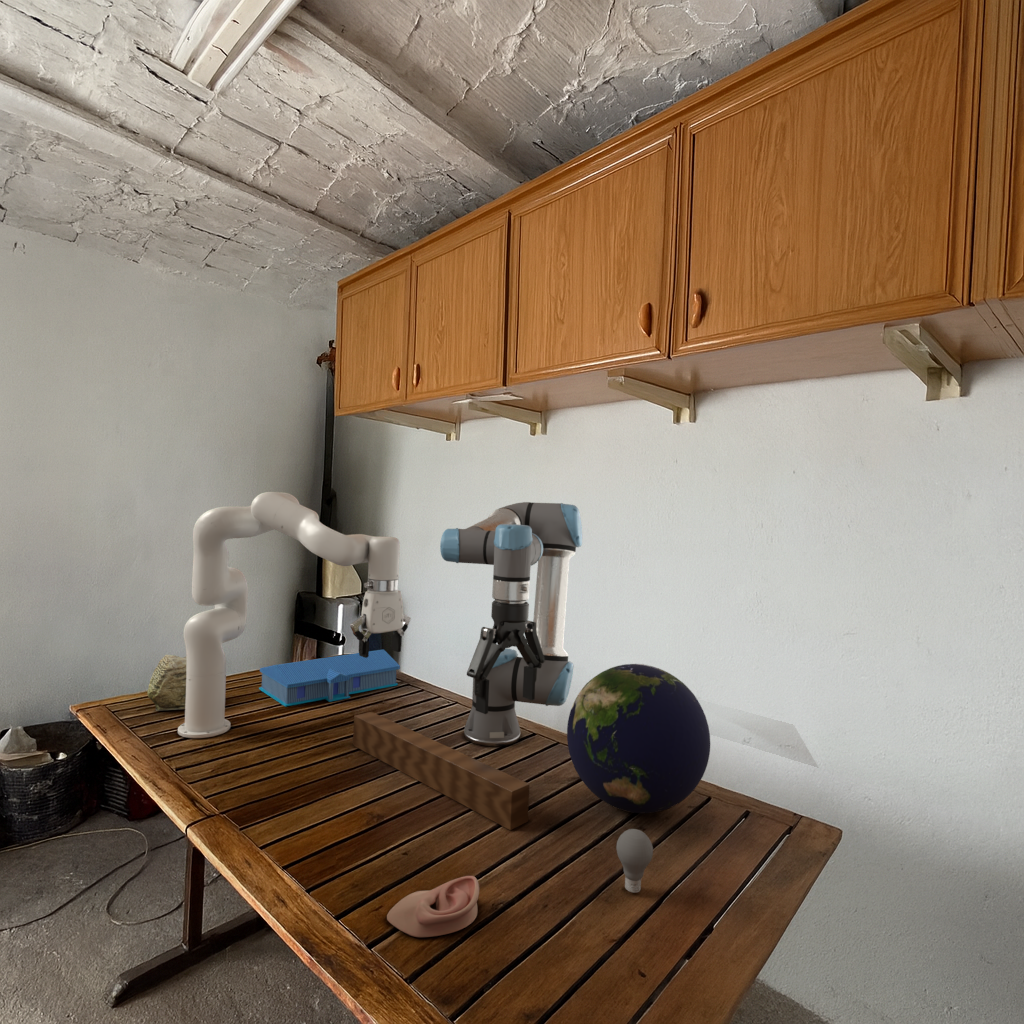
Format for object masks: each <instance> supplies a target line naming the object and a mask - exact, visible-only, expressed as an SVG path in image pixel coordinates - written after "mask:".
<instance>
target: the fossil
mask: <svg viewBox="0 0 1024 1024" xmlns="http://www.w3.org/2000/svg"><path fill="white" fill-rule="evenodd" d="M186 665H187V658H186V656H183V657H182V656H178V655H175V654H174V655H173V654H165V655H164V656H163V657H162V658H161V659H160V660H159V662H158V663H157V666H156V667H155V669H154V670H153V672H152V675H151V677H150V680H149V684H148V688H147V697H148V699H149V700H150V701H152V703H153V704H154V706H155V711H158V712H159V711H162V712H163V711H177V710H185V701H186Z"/></svg>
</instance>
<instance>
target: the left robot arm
mask: <svg viewBox="0 0 1024 1024" xmlns="http://www.w3.org/2000/svg"><path fill="white" fill-rule="evenodd" d="M273 530H275V531H278V532H279V533H281V534H284V535H286V536H288V537H290V538H292V539H294V540H296V541H298V542H299V543H301V545H302V546H303V547H305V549H307V550H308V551H309V552H311V553H312V554H314V555H316V556H318V557H320V558H322V559H324V560H326V561H328V562H330V563H332V564H335V565H338V566H342V567H350V566H354V565H359V564H366V563H368V565H367V566H368V567H367V568H368V569H367V582H364V583H363V587H364V588H365V589H367V591H365V593H364V596H363V600H362V605H361V613H360V617H359V618H357V619H355V620H354V621H352V622H351V623H350V624H349V626H350V629H351V631H352V634H353V636H355V638H356V640H358V653H359V655H360V656H362V657H365V658H367V657H368V656H369V651H370V641H369V639H370V636H371V635H372V634H384V633H390V632H393V634H392V635H391V650H392V651H393V652H397V653H401V652H402V644H403V643H402V640H403V636H404V635H405V632H406V631H407V629H408V627H409V625H410V622H411V620H412V619H411V616H408V615H407V614H405V613H404V603H403V596H402V590H399V578H400V577H399V574H400V553H401V552H400V551H401V549H400V548H401V542H400V539H399V538H397V537H395V536H383V535H381V536H379V535H378V536H373V535H369V534H364V533H356V534H355V533H354V534H353V533H352V534H345V533H341V532H339V531H337V530H335V529H332V528H330V527H329V526H326V525H325V524H323V523H322V522H321V521H320V517H319V514H318V513H317V512H316V511H315V510H312V509H311V508H309V507H306V506H304V505H303V504H300V502H299V500H298V499H297V497H296V496H294V495H293V494H291V493H289V492H284V491H283V492H281V491H265V492H262V493H260V494H258V495H256V496H255V497H254V498H253V500H252V502H251V504H250V505H247V506H246V505H245V506H242V505H241V506H240V505H239V506H235V505H230V506H229V505H225V506H219V507H214V508H211V509H209V510H207V511H205V512H203V513H202V514H201V515H199V517H198V518H197V520H196V522H194V526H193V530H192V544H193V545H192V546H193V556H192V557H193V559H192V575H191V578H192V579H191V597H192V600H193V601H194V602H195V603H196V604H197V605H199V606H202V607H213V606H214V608H212V609H207V610H204V611H200V612H198V613H196V614H194V615H192V616H191V617H190V618H188V620H187V621H186V623H185V624H184V627H183V640H184V641H183V642H184V646H185V657H186V658H187V665H186V701H185V709H184V722H182V724H180V725H179V726H178V727H177V734H178V735H179V736H180V737H182V738H188V739H207V738H212V737H216V736H220V735H222V734H224V733H227V732H228V731H230V729H231V727H232V725H231V723H232V722H231V721H230V720H228V719H226V718H225V715H226V692H227V691H226V689H227V657H226V653H225V651H224V647H223V644H224V643H226V642H230V641H232V640H234V639H237V638H238V637H240V636H241V635H242V634H243V632H244V631H245V629H246V626H247V615H248V598H249V597H248V595H249V585H248V581H247V577H246V576H245V574H244V573H243V571H241V570H240V569H238V568H236V567H233V566H229V561H230V552H229V548H228V545H227V543H226V541H227V540H231V539H232V540H233V539H247V538H252V537H256V536H259V535H263V534H265V533H267V532H270V531H273ZM359 627H360V629H361V630H360V629H359Z"/></svg>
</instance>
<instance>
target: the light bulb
mask: <svg viewBox="0 0 1024 1024" xmlns="http://www.w3.org/2000/svg"><path fill="white" fill-rule="evenodd" d="M615 849H616V854H617V857H618V859H619V861H620V863H621V865H622V867H623V873H624V874H623V875H624V876H625V878H624V888H625V890H627V891H628V892H630V893H634V894H635V893H639V892H640V891H641V889H642V887H641V886H642V879H643V877H644V875H645V871H646V868H647V867H648V866H649V864H650V863H651V861H652V859H653V855H654V847H653V843H652V841H651V838H649V836H648V835H647V834H646V833H645V832H643V831H642V830H641V829H636V828H629V829H627V830H625V831H623V832H622V833H621V834H620V835H619V837H618V839H617V841H616V847H615Z"/></svg>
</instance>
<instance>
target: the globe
mask: <svg viewBox="0 0 1024 1024" xmlns="http://www.w3.org/2000/svg"><path fill="white" fill-rule="evenodd" d="M566 725H567V726H566V740H567V741H566V742H567V749H568V753H569V757H570V760H571V762H572V765H573V767H574V770H575V771H576V773H577V775H578V777H579V778H580V780H581V781H582V782H583V784H584V785H585V786H586V787H587V789H589V791H590V792H591V793H592V794H593V795H594V796H596V797H597V798H598V799H600V800H601V801H603V803H606V804H607V805H609V806H611V807H613V808H616V809H617V810H621V811H625V812H628V813H633V814H634V813H635V814H653V813H658V812H662V811H665V810H668V809H671V808H672V807H673V808H674V807H675V806H676V805H679V804H680V803H681V802H683V801H684V800H685V799H686V798H688V797H689V796H690V795H691V794H692V793H693V792H694V790H695V789H696V788H697V787H698V785H699V784H700V782H701V780H702V779H703V777H704V775H705V772H706V770H707V766H708V764H709V759H710V754H711V733H710V727H709V723H708V719H707V717H706V714H705V712H704V709H703V707H702V705H701V703H700V702H699V700H698V699H697V697H696V695H695V694H694V693H693V692H692V690H691V689H690V688H689V687H688V686H687V685H686V684H685V682H683V681H681V680H680V679H679V678H677V677H676V676H675V675H673V674H671V673H670V672H668V671H665V670H664V669H661V668H659V667H656V666H652V665H648V664H644V663H628V664H626V663H625V664H620V665H615V666H613V667H609V668H608V669H605V670H603V671H602V672H601V671H600V672H599V673H598V674H597V675H595V676H594V677H592V678H591V679H590V680H589V681H588V682H586V684H584V686H583V687H582V688H581V689H580V691H579V692H578V694H577V695H576V697H575V699H574V701H573V703H572V706H571V708H570V712H569V715H568V720H567V724H566Z"/></svg>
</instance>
